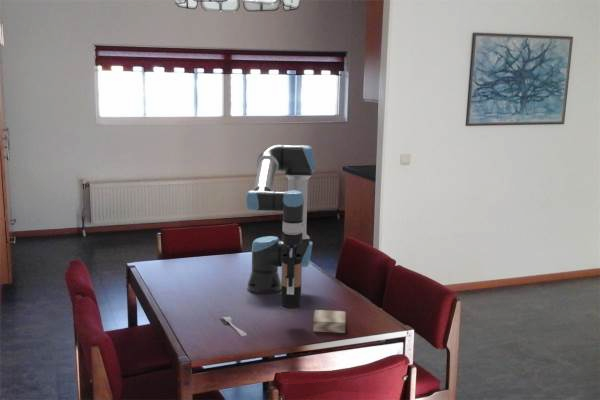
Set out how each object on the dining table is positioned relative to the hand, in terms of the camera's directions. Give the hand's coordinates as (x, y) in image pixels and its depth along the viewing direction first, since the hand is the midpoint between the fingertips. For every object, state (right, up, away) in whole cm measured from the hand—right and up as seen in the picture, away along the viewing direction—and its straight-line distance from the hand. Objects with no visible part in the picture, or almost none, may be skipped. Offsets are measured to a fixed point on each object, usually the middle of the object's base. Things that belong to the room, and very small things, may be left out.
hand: (291, 290), depth 242 cm
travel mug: (0, -6, +1) cm, 6 cm away
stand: (+15, -14, +1) cm, 20 cm away
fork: (-22, -14, -1) cm, 26 cm away
